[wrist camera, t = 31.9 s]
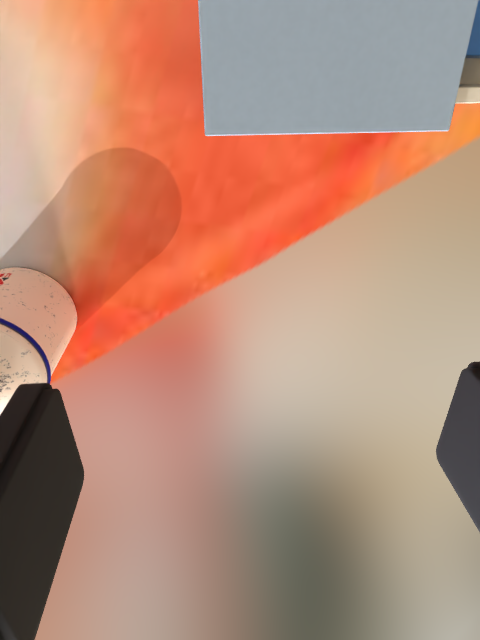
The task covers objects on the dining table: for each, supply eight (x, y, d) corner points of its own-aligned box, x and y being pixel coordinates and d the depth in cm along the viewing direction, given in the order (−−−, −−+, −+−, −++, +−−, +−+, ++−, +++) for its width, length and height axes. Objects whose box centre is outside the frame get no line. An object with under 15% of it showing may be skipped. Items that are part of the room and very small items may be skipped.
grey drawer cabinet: (422, -97, 25) (518, -175, 17) (388, 116, 31) (449, 131, 23) (195, -99, 24) (189, -181, 16) (206, 119, 30) (205, 136, 22)
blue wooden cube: (439, -20, 25) (475, -35, 22) (502, -19, 26) (548, -33, 22) (424, 57, 27) (455, 55, 24) (482, 58, 28) (521, 56, 24)
